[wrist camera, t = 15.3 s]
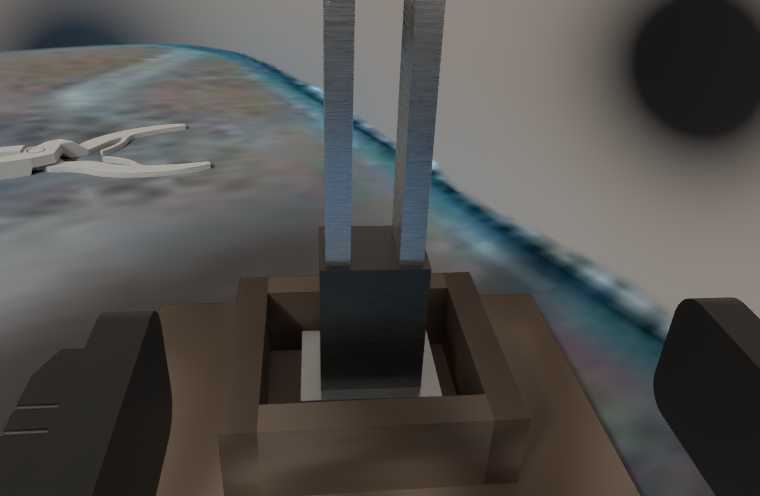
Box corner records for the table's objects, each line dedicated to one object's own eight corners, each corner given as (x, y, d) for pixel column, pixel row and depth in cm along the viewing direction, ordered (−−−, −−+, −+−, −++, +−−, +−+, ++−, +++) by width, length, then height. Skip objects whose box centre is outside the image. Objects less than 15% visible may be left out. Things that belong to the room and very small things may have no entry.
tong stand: (78, 604, 19) (50, 514, 17) (164, 321, 31) (152, 250, 29) (656, 559, 21) (690, 473, 19) (527, 310, 33) (539, 241, 31)
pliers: (209, 153, 47) (-30, 184, 41) (211, 174, 48) (-23, 207, 42) (182, 112, 54) (-23, 133, 49) (184, 130, 55) (-17, 153, 49)
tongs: (301, 442, 24) (284, -105, 15) (303, 369, 27) (290, -110, 18) (437, 436, 24) (497, -97, 15) (422, 366, 28) (463, -102, 19)
